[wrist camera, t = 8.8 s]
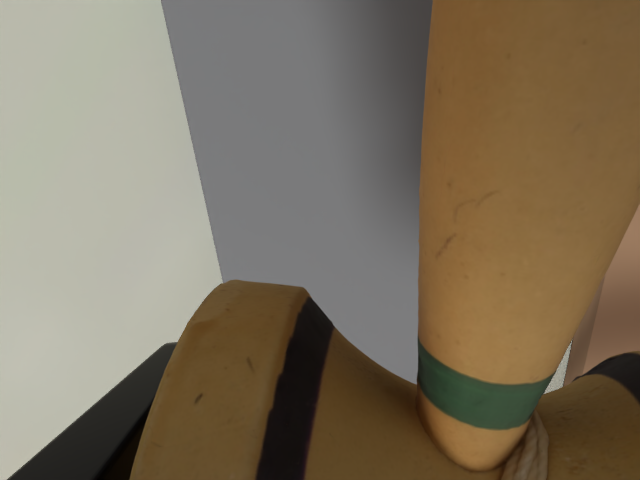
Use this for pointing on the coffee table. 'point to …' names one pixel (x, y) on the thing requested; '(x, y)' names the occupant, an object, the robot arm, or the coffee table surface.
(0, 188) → the coffee table surface
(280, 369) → the kendama
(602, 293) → the tan wooden frame
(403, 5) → the mat
